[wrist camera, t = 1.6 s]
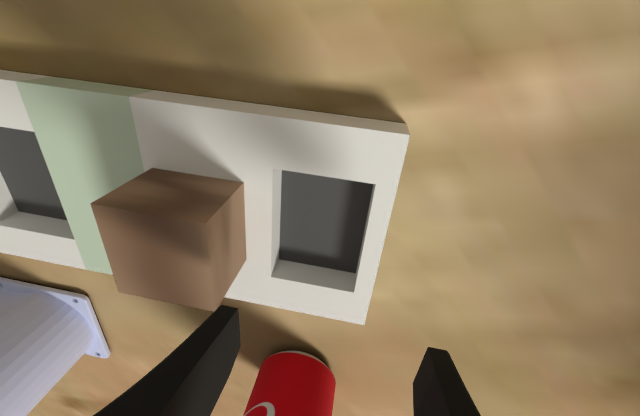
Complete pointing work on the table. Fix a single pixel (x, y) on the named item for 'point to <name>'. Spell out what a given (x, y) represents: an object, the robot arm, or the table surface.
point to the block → (174, 236)
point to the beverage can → (292, 387)
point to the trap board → (212, 161)
